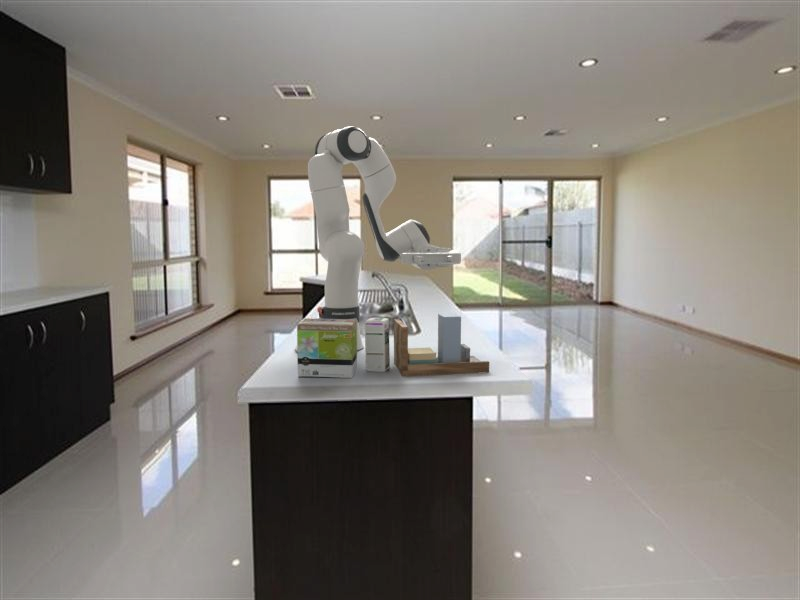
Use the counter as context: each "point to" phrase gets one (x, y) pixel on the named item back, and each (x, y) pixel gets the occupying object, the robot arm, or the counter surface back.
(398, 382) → the counter surface
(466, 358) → the bookend
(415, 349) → the book stack
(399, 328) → the shelf
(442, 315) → the light blue upright block
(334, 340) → the tea box
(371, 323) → the syrup box
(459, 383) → the counter surface
